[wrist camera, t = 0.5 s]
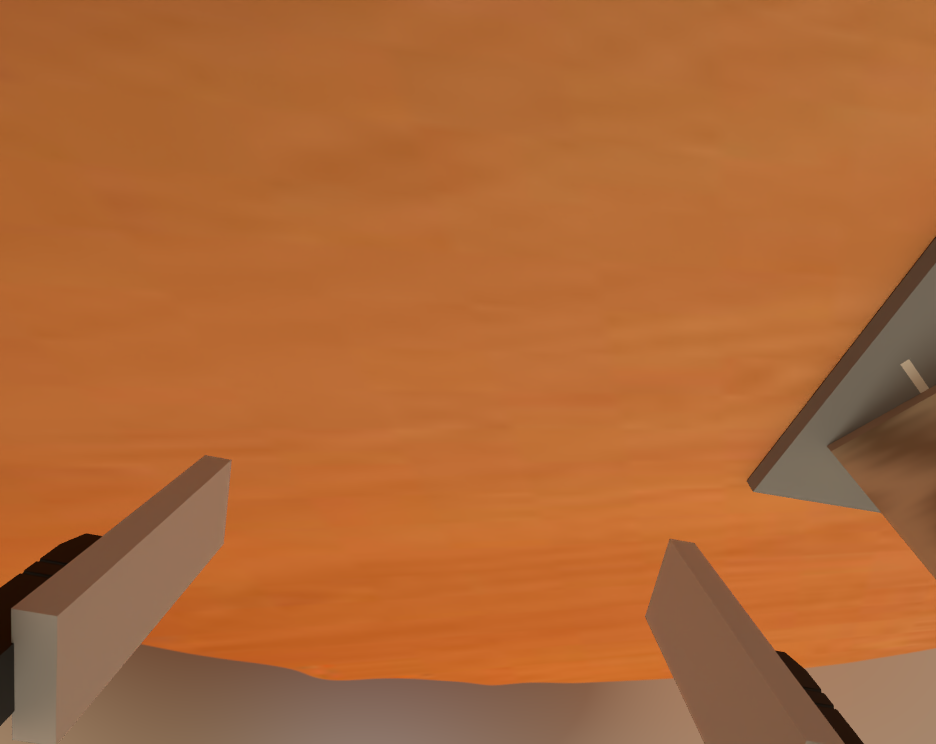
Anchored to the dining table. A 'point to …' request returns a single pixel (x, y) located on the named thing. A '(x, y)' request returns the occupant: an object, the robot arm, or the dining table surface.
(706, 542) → the dining table surface
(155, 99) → the dining table surface
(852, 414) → the board
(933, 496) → the block
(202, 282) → the dining table surface
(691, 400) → the dining table surface
